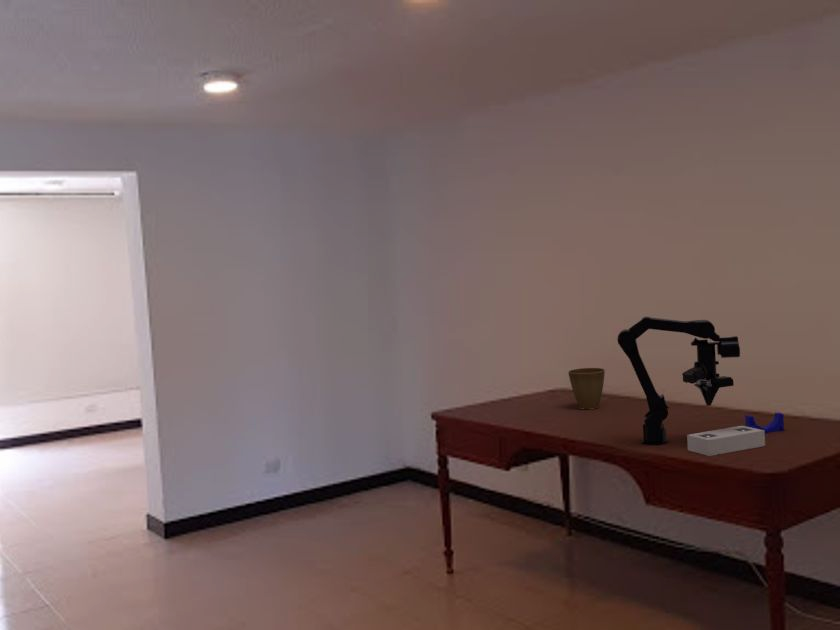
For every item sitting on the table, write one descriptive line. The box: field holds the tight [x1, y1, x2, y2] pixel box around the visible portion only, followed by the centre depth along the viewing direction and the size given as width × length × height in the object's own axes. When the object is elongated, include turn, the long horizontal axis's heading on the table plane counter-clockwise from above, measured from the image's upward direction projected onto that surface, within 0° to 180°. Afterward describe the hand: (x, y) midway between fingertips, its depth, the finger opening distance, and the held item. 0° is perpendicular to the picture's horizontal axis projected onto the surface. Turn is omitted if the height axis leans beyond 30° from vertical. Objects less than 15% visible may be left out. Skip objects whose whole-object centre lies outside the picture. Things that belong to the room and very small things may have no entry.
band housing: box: [686, 425, 766, 457], centre depth 273 cm, size 10×22×5 cm, turn 112°
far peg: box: [736, 428, 750, 432], centre depth 275 cm, size 4×4×5 cm
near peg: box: [701, 434, 715, 438], centre depth 270 cm, size 4×4×5 cm
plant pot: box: [567, 367, 606, 409], centre depth 357 cm, size 15×15×16 cm
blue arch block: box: [744, 412, 785, 434], centre depth 292 cm, size 12×4×6 cm, turn 94°
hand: (708, 405), depth 283 cm, fingers closed
